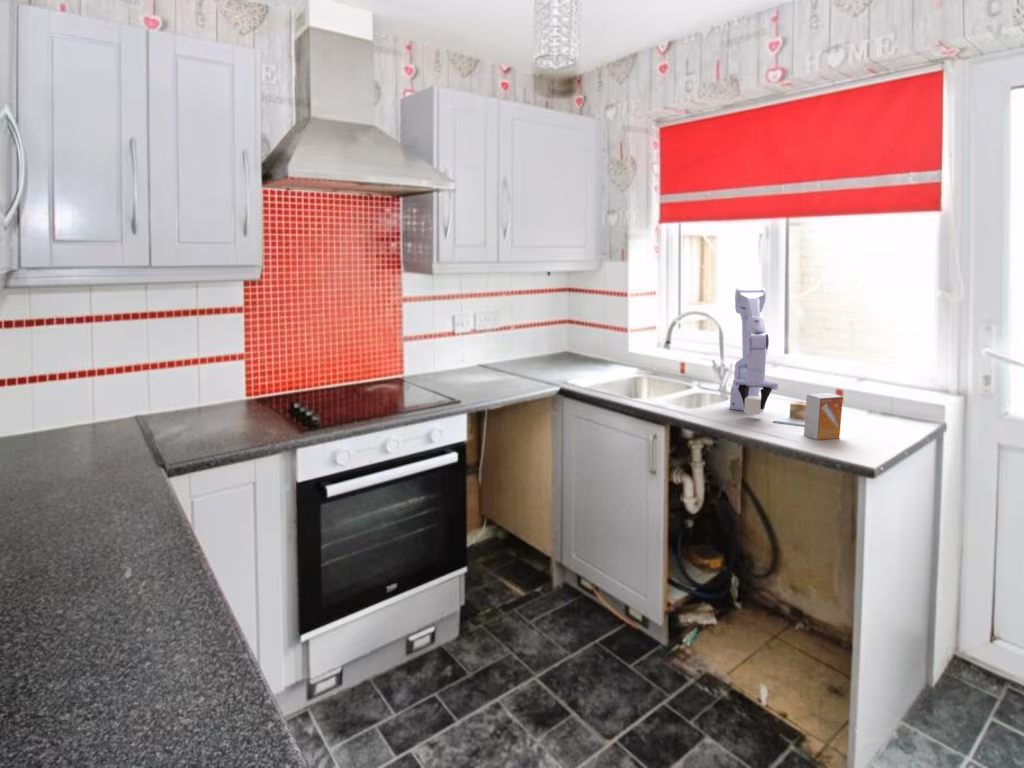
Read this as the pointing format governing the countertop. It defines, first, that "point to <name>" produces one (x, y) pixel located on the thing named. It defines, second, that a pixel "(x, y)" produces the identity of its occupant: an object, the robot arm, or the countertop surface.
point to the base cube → (797, 410)
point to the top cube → (753, 405)
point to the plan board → (789, 420)
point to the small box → (823, 416)
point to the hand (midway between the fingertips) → (754, 407)
